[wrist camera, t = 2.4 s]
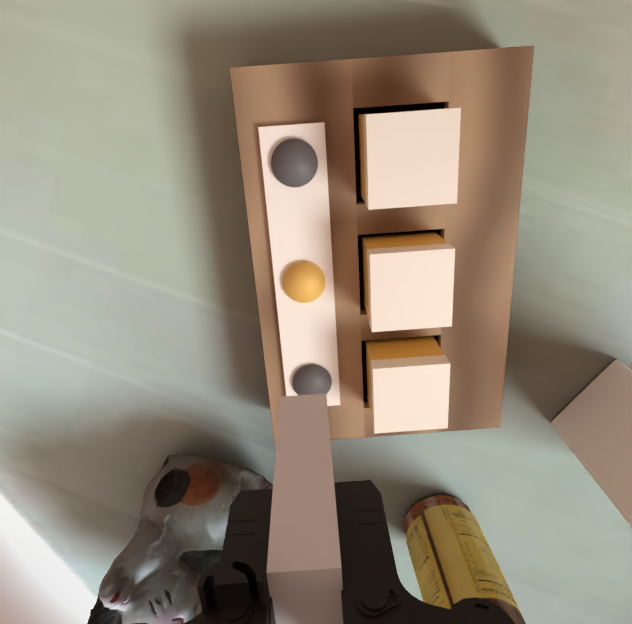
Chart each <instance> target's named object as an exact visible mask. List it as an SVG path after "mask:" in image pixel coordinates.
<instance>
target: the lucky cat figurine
mask: <svg viewBox="0 0 632 624" xmlns="http://www.w3.org/2000/svg"><path fill="white" fill-rule="evenodd" d="M271 488H273V485H272V484H271V483H270V482H268V481H267V480H266V479H265V478H264V477H263V475H262V476H261V475H259V474H257V473H255V472H253V471H251V470H248V469H245V468H241V467H237V466H234V465H231V464H227V463H223V462H219V461H214V460H210V459H207V458H201V457H198V456H197V455H192V454H185V455H169V456H168V457H167V459H166V461H165V463H164V465H163V467H162V469H161V470H160V472H159V473H158V474H157V476H156V477H155V478H154V479H153V480H152V481H151V482H150V483H149V485H148V486H147V487H146V490H145V493H144V502H143V507H142V510H141V519H140V522H139V526H138V530H137V532H136V534H135V536H134V538H133V539H132V540H131V541H130V543H129V544H128V545H127V547H126V548H125V549H124V550H123V551H122V552H121V553H120V554H119V555H118V556H117V558H116V559H115V560H114V561H113V563H112V565H111V567H110V569H109V570H108V572H107V574H106V575H105V576H104V578H103V580H102V582H101V584H100V587H99V593H98V594H99V595H98V599H97V602H96V604H95V606H94V608H93V609H92V610H91V613H90V614H91V615H90V618H89V620H88V623H87V624H133V623H148V624H183V623H185V622H187V621H189V620H191V619H193V618H194V617H195V616H197V615H198V614H199V613H201V612H202V607H201V603H200V598H199V594H198V589H197V585H198V582H199V580H200V578H201V575H202V574H203V573H204V572H205V571H206V570H207V569H208V568H209V567H210V566H211V565H212V564H214V563H216V562H218V561H219V560H221V554H222V549H223V543H224V538H225V532H226V526H227V521H228V515H229V510H230V505H231V504H232V502H233V501H234V499H235V498H236V496H237V495H238V493H239V492H240V491H243V490H257V489H271Z"/></svg>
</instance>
